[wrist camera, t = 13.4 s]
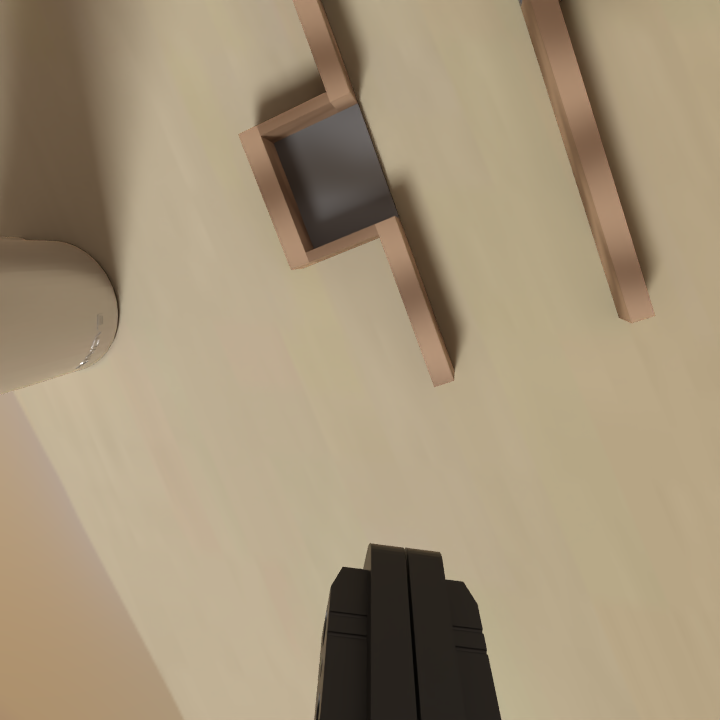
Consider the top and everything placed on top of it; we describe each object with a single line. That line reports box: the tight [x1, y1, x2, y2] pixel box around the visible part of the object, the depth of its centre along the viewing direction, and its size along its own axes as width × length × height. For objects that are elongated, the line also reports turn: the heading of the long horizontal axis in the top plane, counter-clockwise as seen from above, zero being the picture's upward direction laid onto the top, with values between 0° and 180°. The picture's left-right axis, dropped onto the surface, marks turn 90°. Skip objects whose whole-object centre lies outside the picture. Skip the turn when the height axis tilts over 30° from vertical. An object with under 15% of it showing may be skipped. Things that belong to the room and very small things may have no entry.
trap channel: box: [238, 0, 655, 387], centre depth 28 cm, size 35×24×6 cm
